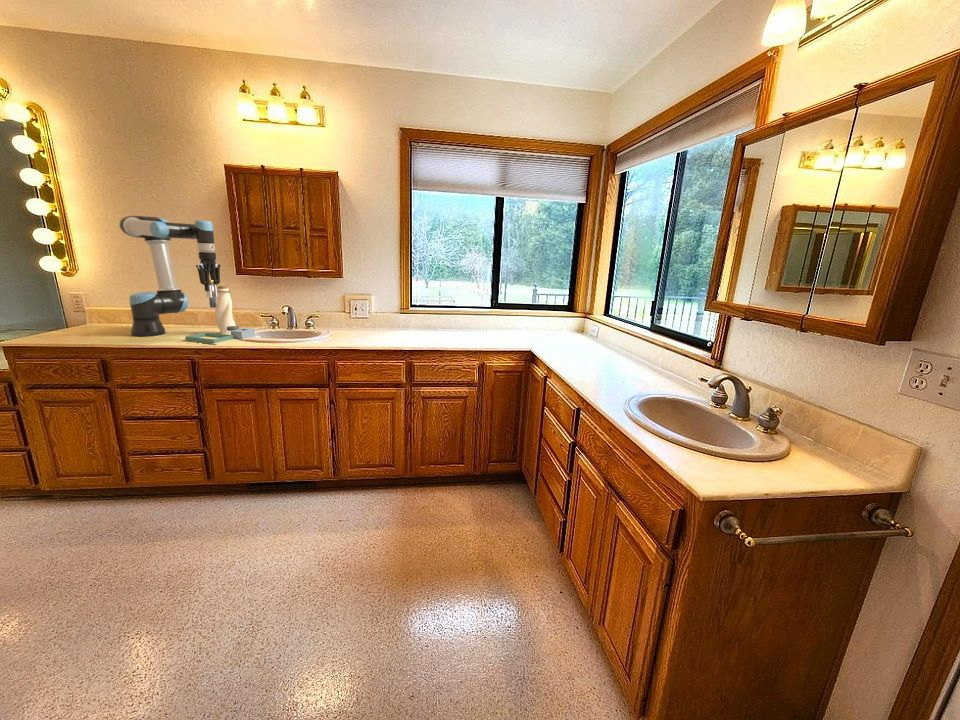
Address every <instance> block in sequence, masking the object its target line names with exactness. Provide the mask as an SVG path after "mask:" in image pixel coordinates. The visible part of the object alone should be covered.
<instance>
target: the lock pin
mask: <svg viewBox="0 0 960 720" xmlns="http://www.w3.org/2000/svg"><path fill="white" fill-rule="evenodd" d="M209 285H211V292H212V298H209V297H208V302H209V307H210V308H211V309H212V308H213V309H214V308H215V309H216V307H217V305H216V304H217V297H216V296H215V287H214V280H211V279H209Z"/></svg>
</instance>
